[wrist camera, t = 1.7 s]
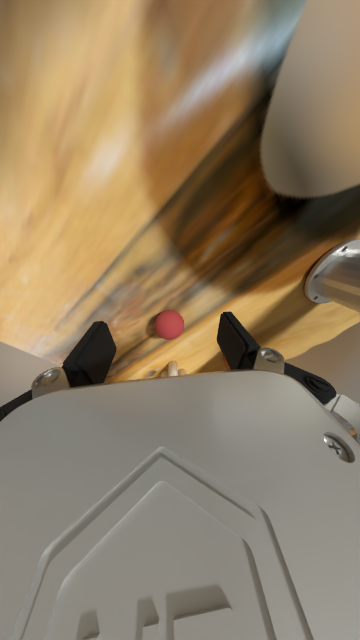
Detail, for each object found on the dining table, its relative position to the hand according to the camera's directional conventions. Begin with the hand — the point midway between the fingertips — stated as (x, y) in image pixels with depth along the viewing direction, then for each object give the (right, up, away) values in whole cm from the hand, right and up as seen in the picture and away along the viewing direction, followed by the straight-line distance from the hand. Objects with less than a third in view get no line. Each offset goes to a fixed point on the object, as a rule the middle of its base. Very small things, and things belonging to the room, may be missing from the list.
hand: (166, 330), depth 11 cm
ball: (-1, 0, +16) cm, 16 cm away
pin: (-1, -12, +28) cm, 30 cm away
